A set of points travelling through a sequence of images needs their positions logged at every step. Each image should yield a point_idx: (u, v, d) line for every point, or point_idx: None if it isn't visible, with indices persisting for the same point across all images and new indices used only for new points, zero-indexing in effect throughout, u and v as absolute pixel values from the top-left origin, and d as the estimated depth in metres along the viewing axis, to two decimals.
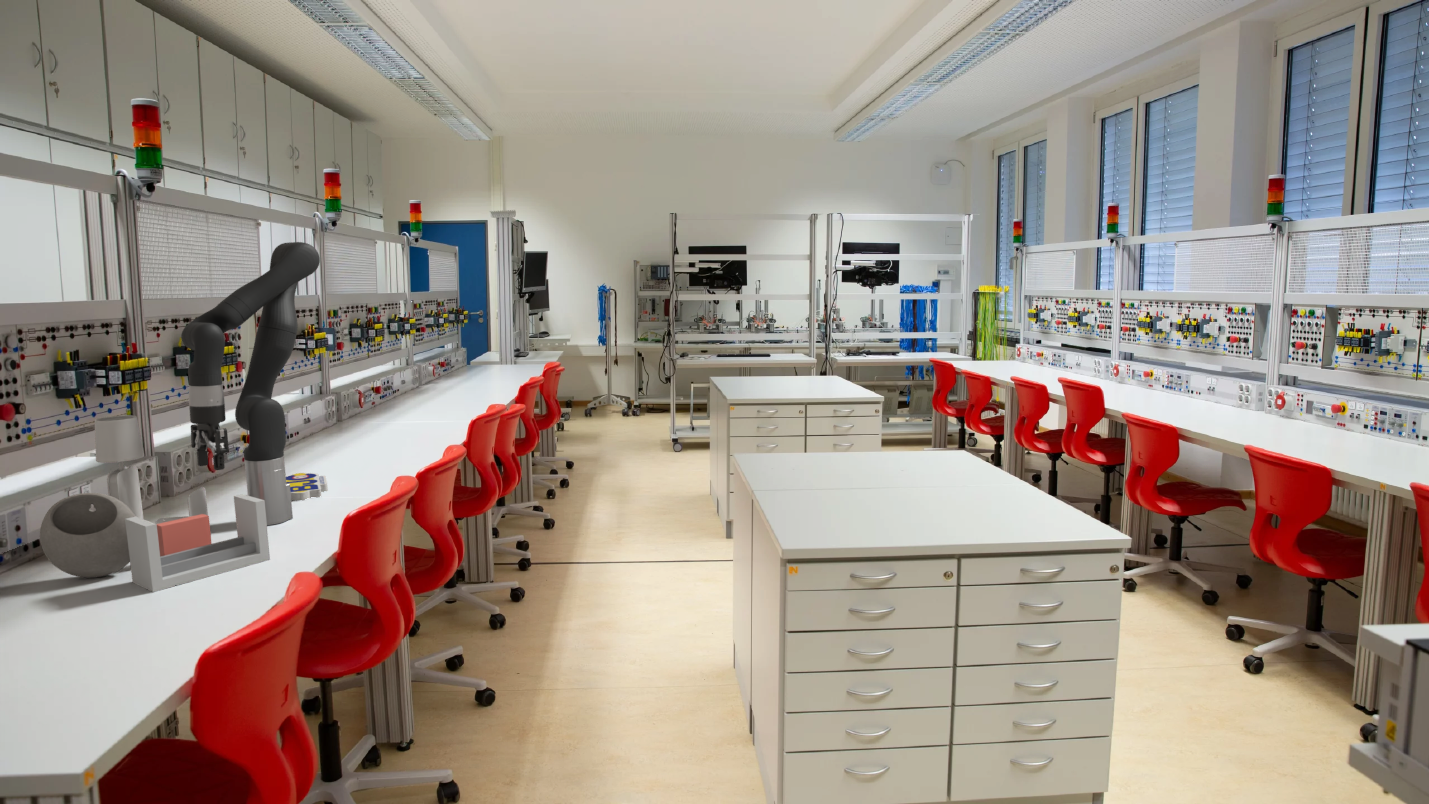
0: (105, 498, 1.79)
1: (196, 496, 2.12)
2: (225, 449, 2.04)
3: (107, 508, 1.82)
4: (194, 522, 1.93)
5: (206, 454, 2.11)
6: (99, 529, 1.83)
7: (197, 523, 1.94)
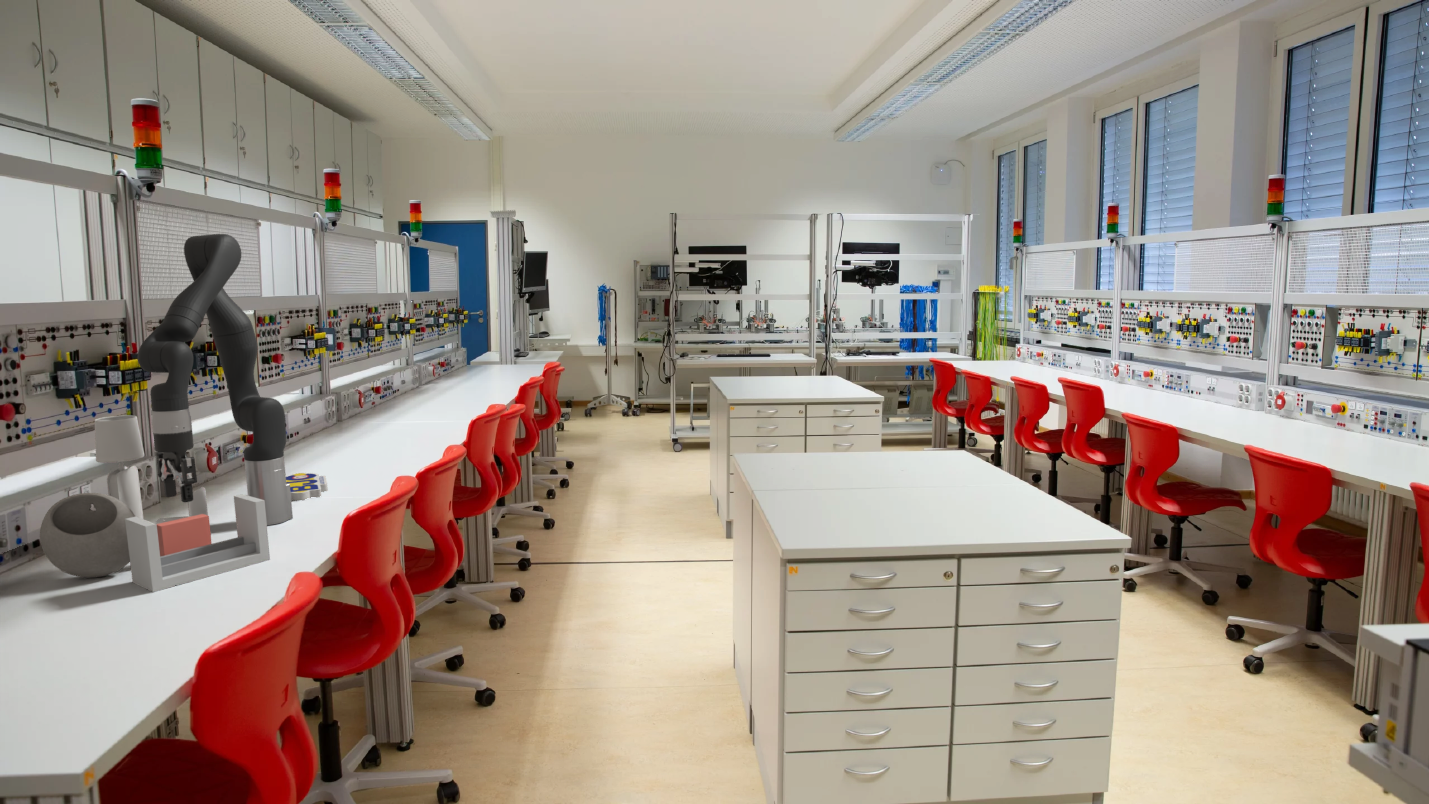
0: (105, 498, 1.79)
1: (196, 496, 2.12)
2: (193, 479, 1.87)
3: (107, 508, 1.82)
4: (194, 522, 1.93)
5: (174, 484, 1.94)
6: (99, 529, 1.83)
7: (197, 523, 1.94)
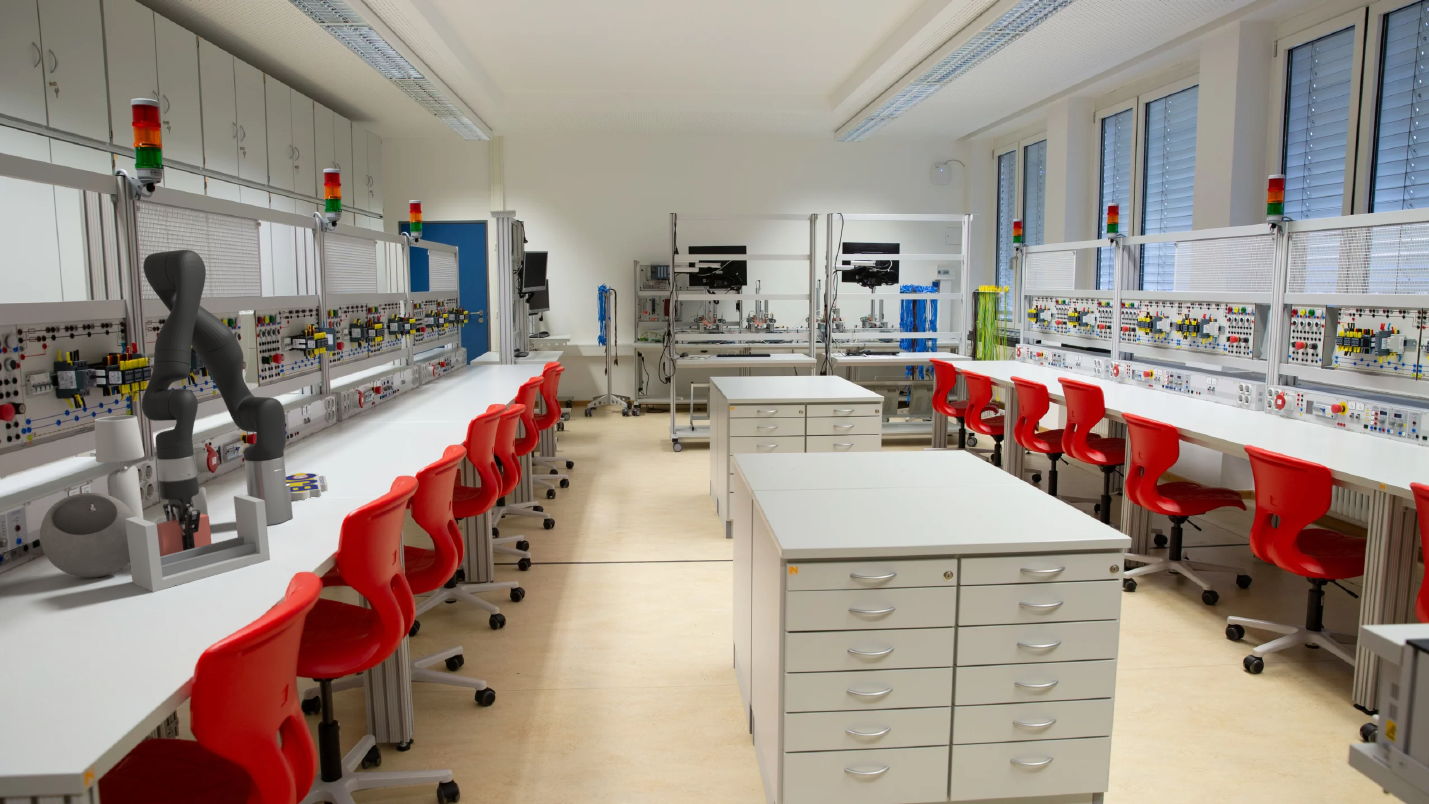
0: (105, 498, 1.79)
1: (196, 496, 2.12)
2: (194, 529, 1.90)
3: (107, 508, 1.82)
4: None
5: None
6: (99, 529, 1.83)
7: None
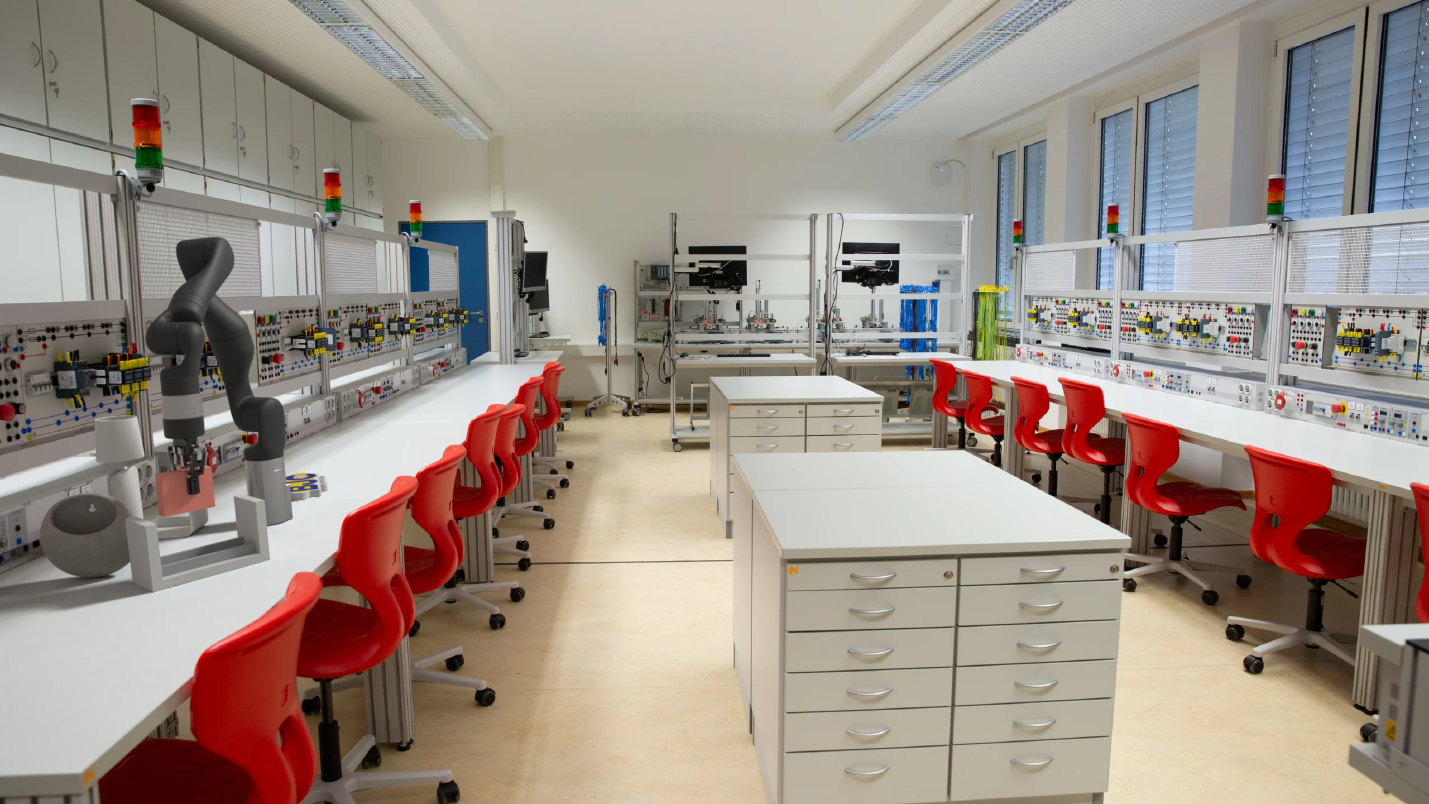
0: (105, 498, 1.79)
1: None
2: (199, 471, 1.79)
3: (107, 508, 1.82)
4: None
5: None
6: (99, 529, 1.83)
7: None
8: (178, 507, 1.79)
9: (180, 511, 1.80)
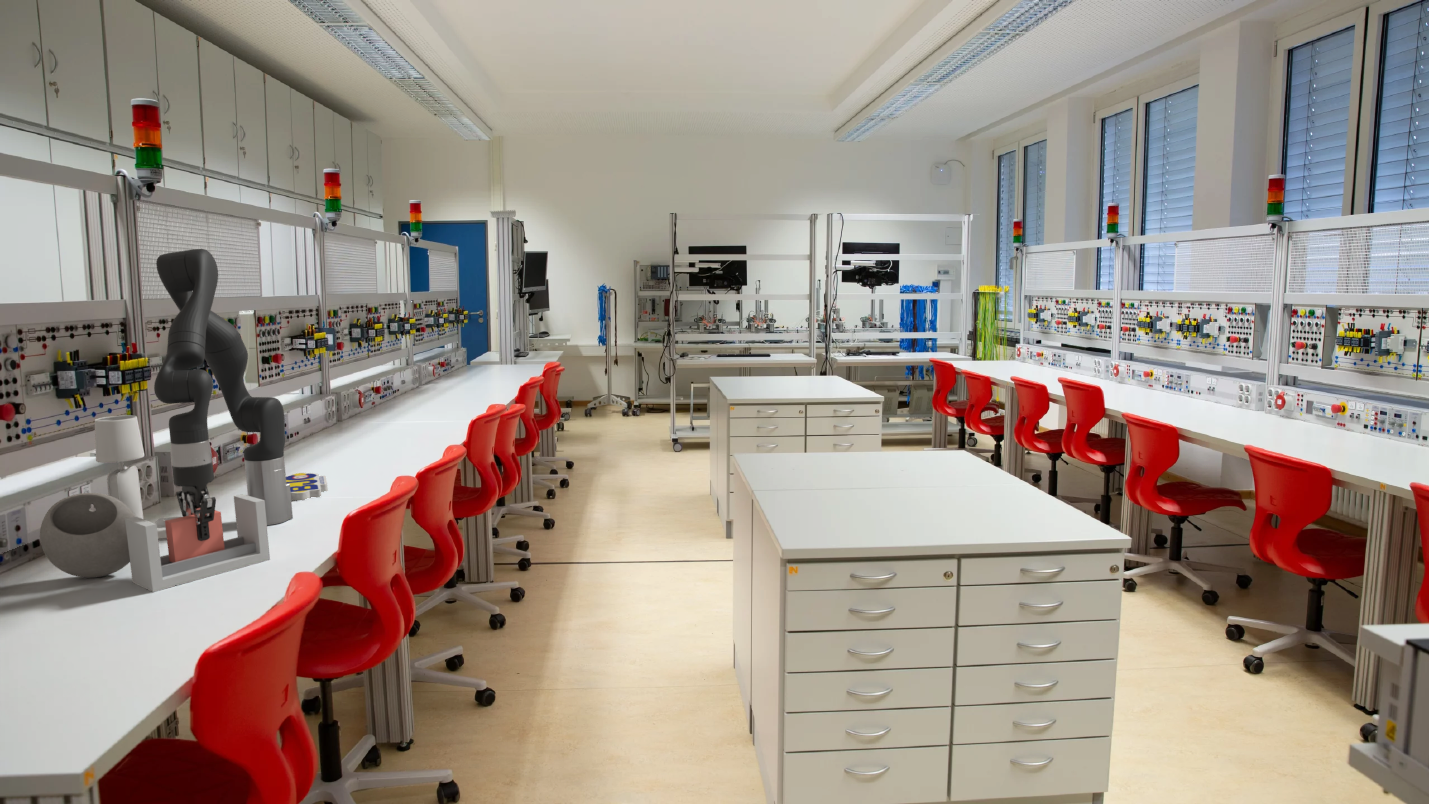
0: (105, 498, 1.79)
1: None
2: (209, 517, 1.81)
3: (107, 508, 1.82)
4: None
5: None
6: (99, 529, 1.83)
7: None
8: (188, 554, 1.81)
9: (190, 557, 1.81)
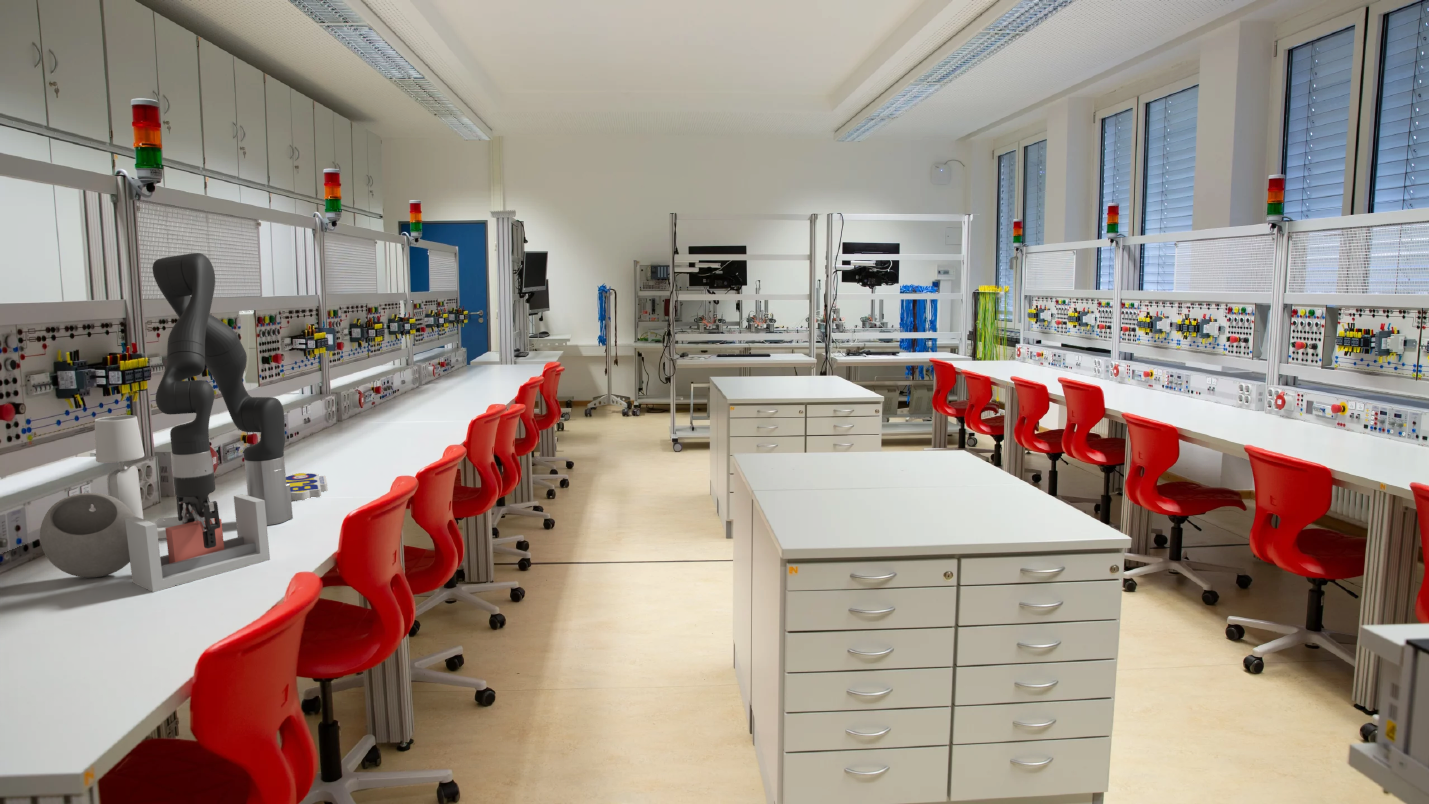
0: (105, 498, 1.79)
1: None
2: (216, 525, 1.79)
3: (107, 508, 1.82)
4: None
5: None
6: (99, 529, 1.83)
7: None
8: None
9: None
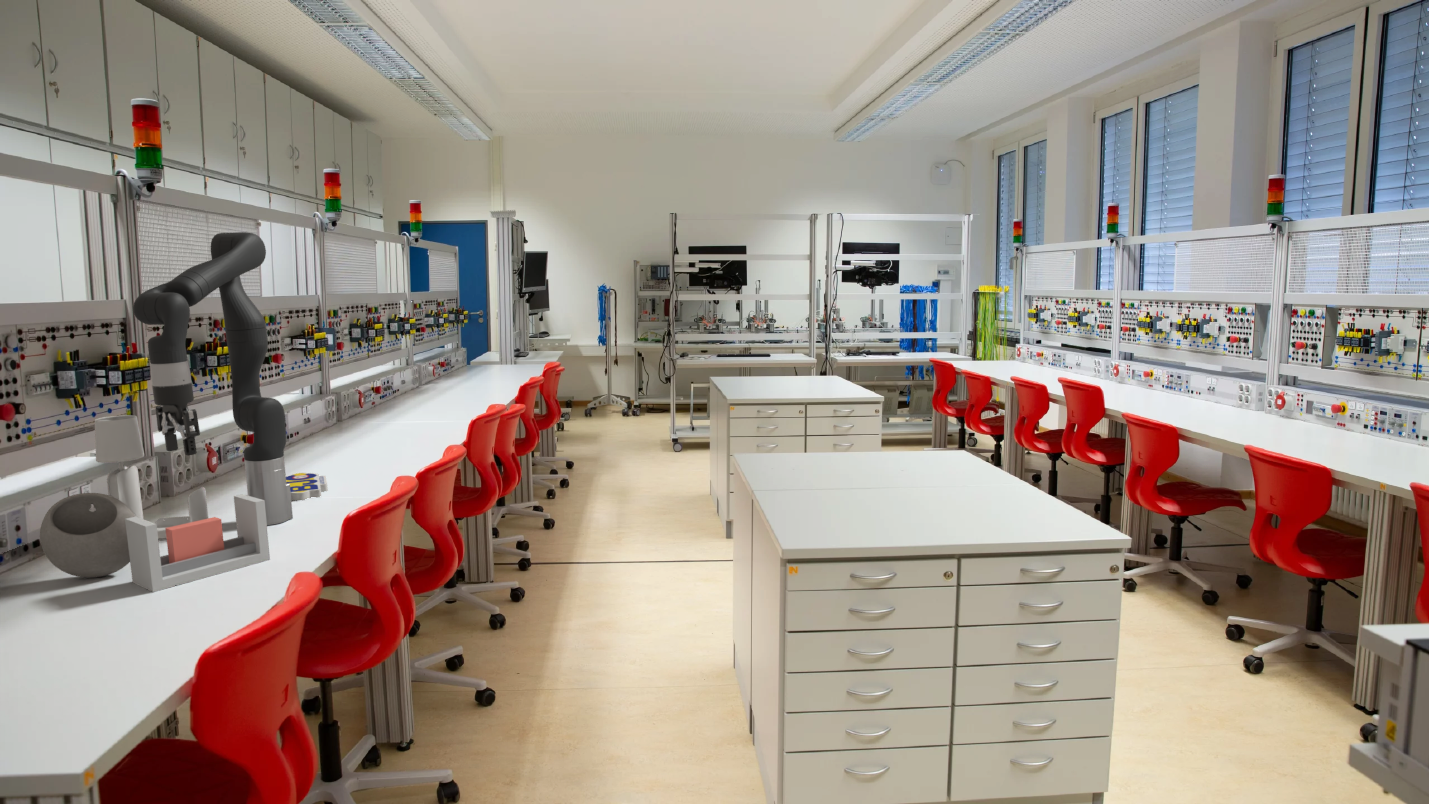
0: (105, 498, 1.79)
1: (196, 496, 2.12)
2: (196, 432, 1.86)
3: (107, 508, 1.82)
4: (206, 526, 1.83)
5: (175, 438, 1.92)
6: (99, 529, 1.83)
7: (209, 527, 1.84)
8: None
9: None
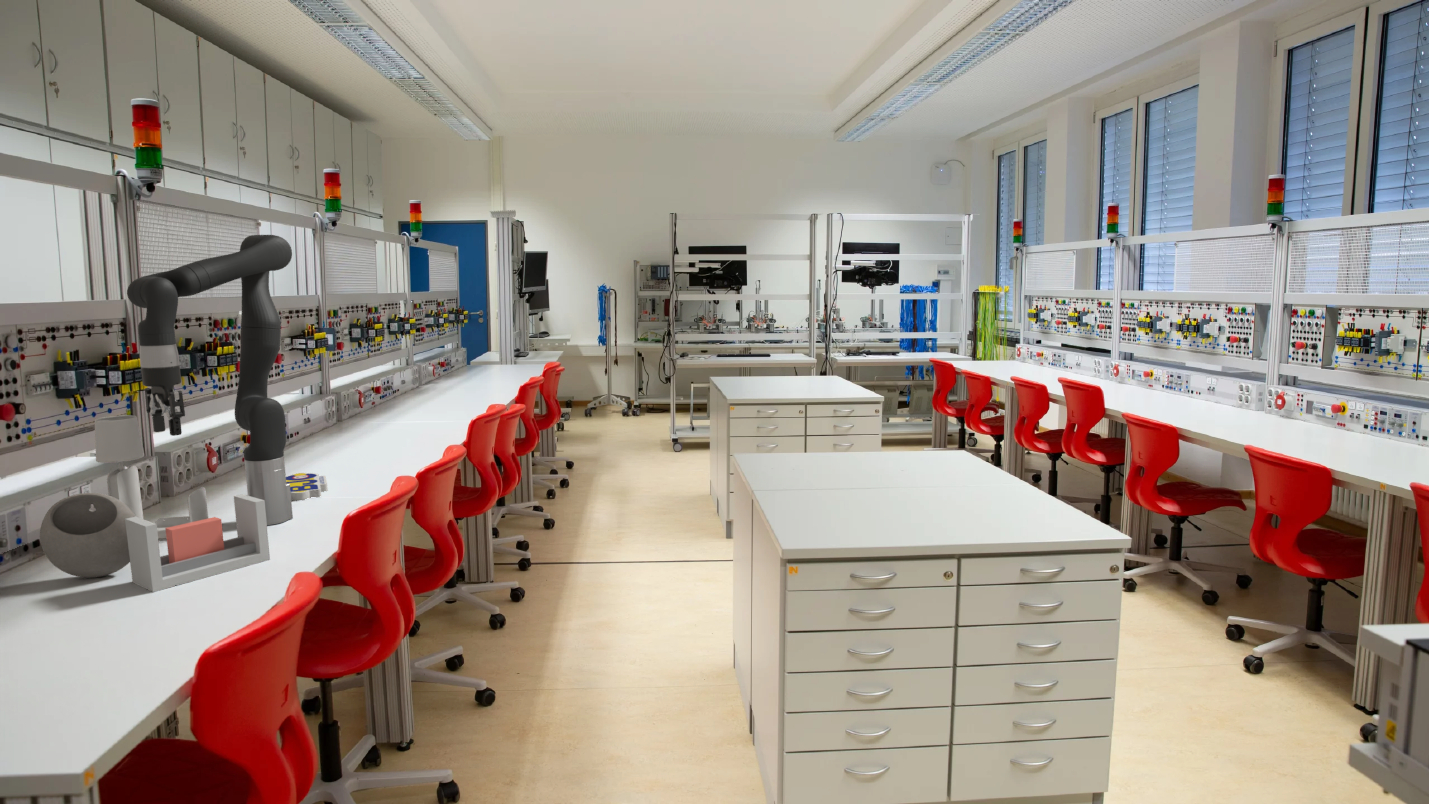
0: (105, 498, 1.79)
1: (196, 496, 2.12)
2: (181, 413, 1.91)
3: (107, 508, 1.82)
4: (206, 526, 1.83)
5: (162, 419, 1.98)
6: (99, 529, 1.83)
7: (209, 527, 1.84)
8: None
9: None
